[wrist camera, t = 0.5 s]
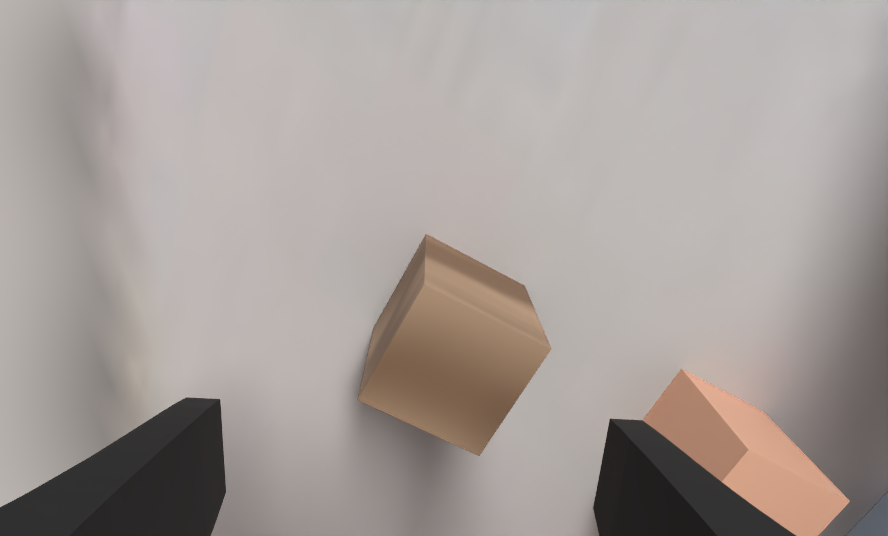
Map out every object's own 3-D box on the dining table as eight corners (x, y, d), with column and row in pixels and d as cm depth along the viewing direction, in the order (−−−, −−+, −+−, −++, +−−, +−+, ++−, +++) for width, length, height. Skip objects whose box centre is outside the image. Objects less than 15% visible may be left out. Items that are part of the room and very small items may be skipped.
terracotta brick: (681, 368, 22) (748, 449, 17) (763, 411, 23) (850, 501, 18) (621, 447, 23) (669, 544, 19) (701, 486, 24) (768, 589, 19)
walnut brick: (426, 233, 20) (424, 284, 16) (524, 285, 21) (551, 348, 16) (374, 326, 21) (357, 400, 17) (469, 372, 22) (479, 455, 17)
